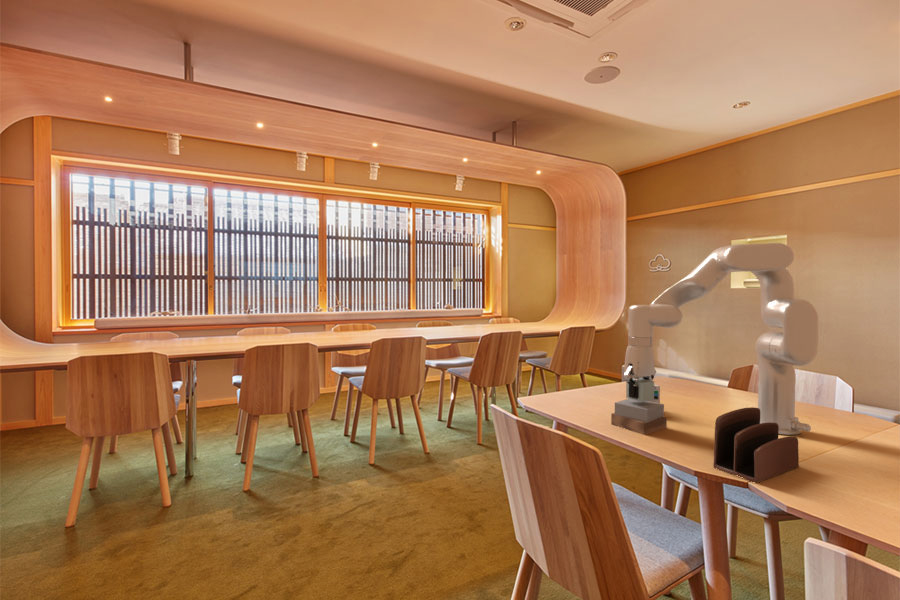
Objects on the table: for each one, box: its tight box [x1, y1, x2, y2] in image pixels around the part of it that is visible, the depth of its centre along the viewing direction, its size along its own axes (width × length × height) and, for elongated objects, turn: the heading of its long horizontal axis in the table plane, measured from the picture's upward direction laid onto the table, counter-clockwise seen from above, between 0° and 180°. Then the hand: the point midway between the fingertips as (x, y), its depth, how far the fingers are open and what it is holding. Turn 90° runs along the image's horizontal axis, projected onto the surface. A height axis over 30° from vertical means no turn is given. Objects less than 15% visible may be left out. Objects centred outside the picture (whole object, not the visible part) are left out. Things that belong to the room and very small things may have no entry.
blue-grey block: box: [625, 377, 655, 402], centre depth 139 cm, size 6×6×6 cm
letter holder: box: [712, 406, 800, 484], centre depth 106 cm, size 10×20×14 cm, turn 117°
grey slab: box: [614, 398, 665, 423], centre depth 139 cm, size 11×11×4 cm
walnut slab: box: [610, 412, 668, 436], centre depth 139 cm, size 12×12×4 cm
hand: (640, 396), depth 139 cm, fingers closed on blue-grey block, 6 cm apart
